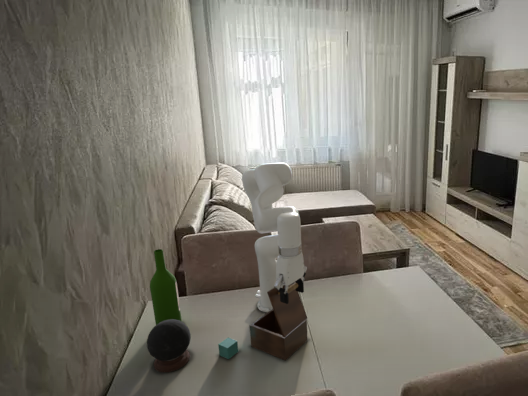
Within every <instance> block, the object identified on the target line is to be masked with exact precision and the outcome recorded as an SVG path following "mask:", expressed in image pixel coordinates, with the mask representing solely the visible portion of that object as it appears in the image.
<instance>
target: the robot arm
mask: <svg viewBox="0 0 528 396" xmlns="http://www.w3.org/2000/svg"><path fill="white" fill-rule="evenodd" d="M292 180H293V170H292V168H291V166H290V165H289V164H288V163H286V162H272V163H269V162H268V163H261V164H259V165H257V166H256V167H255V168H250V169H247V170H244V171H243V173H242V174H241V183H242V187H243V190H244V192H245V194H246V196H247V198H248V199H249V202H250V207H251V212H252V218H253V224H254V228H255V231H256V232H257V233H259V234H270V233H277V234H270V235H265V236H261V237H259V238H257V239H256V241H255V242H254V252H255V256H256V260H257V269H258V281H259V290H258V289H257V291H256V294H255V295H254V298H257V299H258V302H257V303H256V306H257V309H258V310H259V311H260V312H263V313H267V312H269V311H270V310H272V309H273V307H272V305H271V302H270V299H269V296H268V294H267V292H268V291H269V290H271V289H273V288H275V289H276V290H277V291H278V292H280V301H281V302H282V303H286V304H288V303H289V296H288V293H287V290H288V287H289V285H290V284H292V283H294V282H295V283H297V284H298V287H297V288H296V291H298V293H301V294H303V293H304V292H305V291H304V290H305V287H304V285H305V284H304V282H305V279H306V278H305V277H306V276H307V275H306V274H307V270H308V266H307V265H305V259H304V255H303V250H302V249H303V248H302V224H301V217H300V212H299V210H297V208H296V207H294V206H291V205H290V206H279V207H273V204H275V203H276V202H278V201H279V200H280V199H281V198H282V197H283V196H284V193H285V189H284V186H287V185H288V184H290V183H291V182H292ZM283 285H285V289H283Z"/></svg>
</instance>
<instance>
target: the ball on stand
mask: <svg viewBox="0 0 528 396" xmlns="http://www.w3.org/2000/svg"><path fill="white" fill-rule="evenodd" d="M191 335H192V334H191V331H190V328H189V327H188V325H187V324H186V323H185V322H183V321H182V322H181V321H179V320H175V319H169V320H165V321H162V322H160V323H159V324H157V325H156V324H155V325H154V326H153V327H152V329H151V330H150V332H149V333H148V335H147V338H146V347H147V351H148V353H149V354H150V355H151V357H153V358H154V361H153V368H154V370H155V371H156V372H159V373H170V372H175V371H177V370H179V369H181V368H183V367H184V366H186V365H187V364H188V363H189V361H190V360H191V353H190V351H189V350H188V348H189V346H190V344H191V340H192V339H191V337H192V336H191Z"/></svg>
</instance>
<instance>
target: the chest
mask: <svg viewBox="0 0 528 396" xmlns="http://www.w3.org/2000/svg"><path fill="white" fill-rule="evenodd" d="M249 335H250V337H249V338H250V347H251V348H254V349H256V350H259V351H261V352H263V353H266V354H269V355H271V356H273V357H276V358H278V359H281V360H282V361H287V360H288V359H289V358H290V357H291V356H293V354H295V352H297V350H299V349H300V348H301V347H302V346H303V345H304V344H305V343H306V342H307V341H308V318H307V319H306V320H305V321H304V322H302V323H301V324H300V325H299V326H298V327H296V328H295V329H294V330H293V331H292V332H290V333H289V334H288V335H287V336H286V337H283V335H282V332H281V329H280V326H279V324H278V321H277V318H276V316H275V313H274V310H273V309H272V310H270V311H269V312H265V314H263V315H261V316H260V317H259V318H257V319H256V320H255V321H253V322H252V323H250V324H249Z"/></svg>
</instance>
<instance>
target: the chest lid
mask: <svg viewBox="0 0 528 396" xmlns="http://www.w3.org/2000/svg"><path fill="white" fill-rule="evenodd" d="M297 287H298V284H297V283H295V282H294V283H292V284H290V285H289V287H288V290H287V293H288V296H289V303H288V304H286V303H282V302H281V301H280V292H278V291H277V290H276V289H275V288H273V289H271V290H269V291H268V292H267V294H268V296H269V299H270V302H271V305H272V307H273V310H274V313H275V316H276V318H277V321H278V324H279V326H280V329H281V332H282V335H283V337H286V336H287V335H288V334H289V333H290V332H292V331H293V330H294V329H295V328H296V327H298V326H299V325H300V324H301V323H302V322H304V321H305V320H306V319H307V320H308V315H307V313H306V310H305V307H304V305H303V301H302V299H301V295H300V292H298V291H296V288H297ZM283 289H285V285H283Z"/></svg>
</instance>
